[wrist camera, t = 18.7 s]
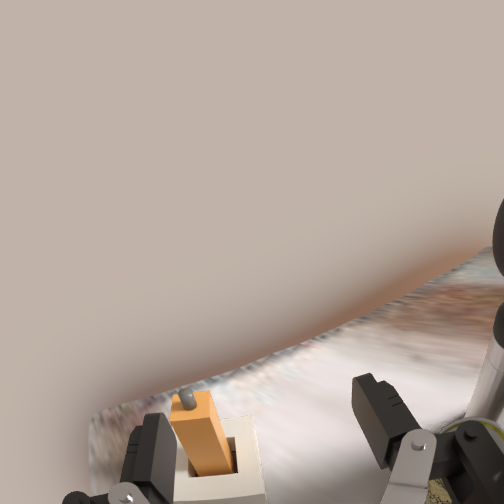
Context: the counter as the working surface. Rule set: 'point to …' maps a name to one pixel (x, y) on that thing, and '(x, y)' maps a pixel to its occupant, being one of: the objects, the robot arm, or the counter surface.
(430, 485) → the olive green flower pot
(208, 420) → the plug
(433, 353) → the counter surface
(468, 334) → the counter surface
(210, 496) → the socket
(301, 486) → the counter surface
